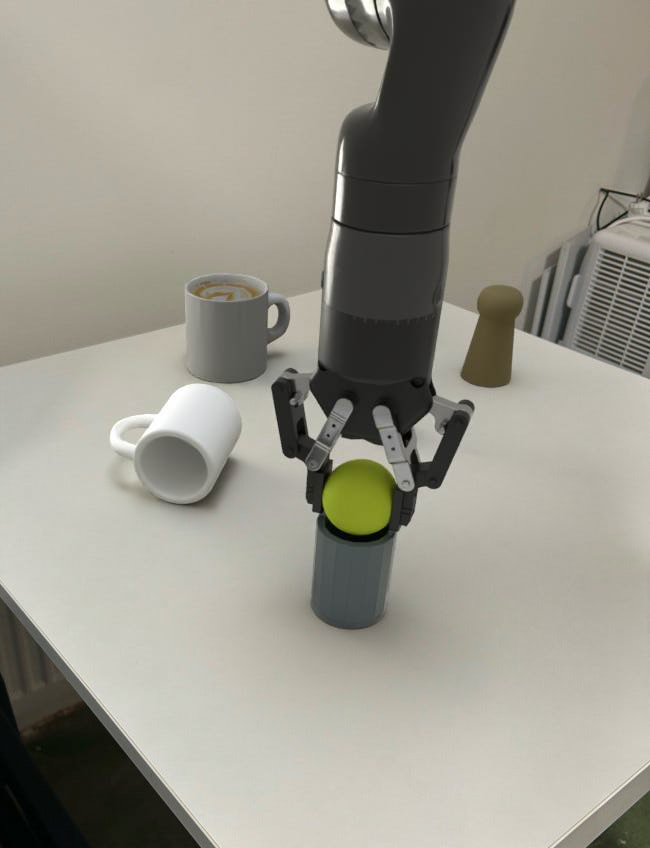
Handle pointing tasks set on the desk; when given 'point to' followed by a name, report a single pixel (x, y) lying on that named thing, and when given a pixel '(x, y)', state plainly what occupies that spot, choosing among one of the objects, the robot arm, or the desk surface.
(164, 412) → the mug
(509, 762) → the desk surface
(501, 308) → the brown game pawn
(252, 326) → the coffee mug
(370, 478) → the ball
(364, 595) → the cup
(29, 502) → the desk surface
